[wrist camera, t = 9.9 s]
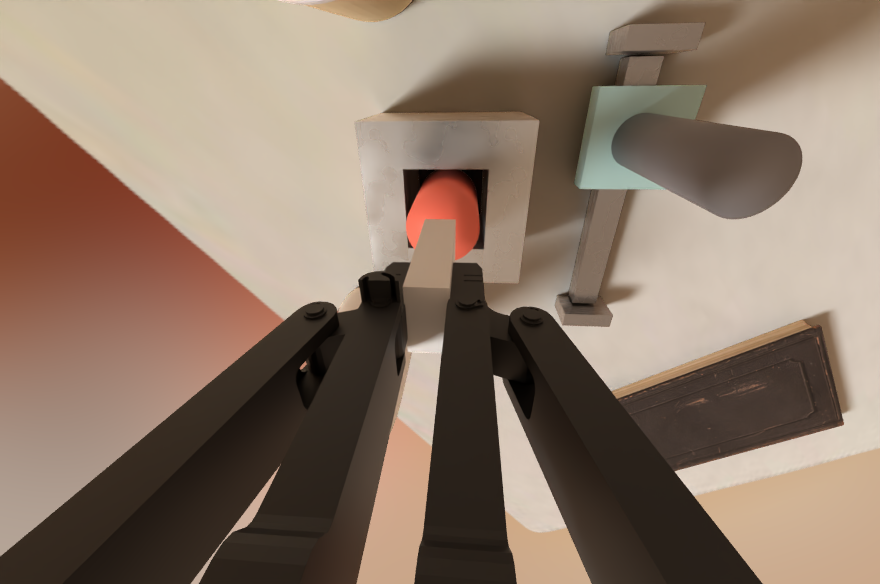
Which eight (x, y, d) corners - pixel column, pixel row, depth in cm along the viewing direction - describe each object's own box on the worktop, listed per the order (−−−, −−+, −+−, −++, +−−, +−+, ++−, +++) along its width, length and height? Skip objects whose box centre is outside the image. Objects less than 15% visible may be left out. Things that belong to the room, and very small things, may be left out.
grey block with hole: (382, 112, 24) (354, 121, 18) (521, 111, 24) (539, 120, 18) (393, 240, 30) (375, 280, 24) (508, 242, 29) (518, 283, 23)
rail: (610, 31, 21) (629, 24, 19) (676, 30, 21) (705, 22, 18) (554, 306, 32) (562, 325, 29) (598, 307, 32) (609, 326, 29)
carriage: (584, 86, 23) (699, 87, 11) (678, 85, 22) (891, 84, 11) (568, 178, 26) (645, 249, 15) (649, 178, 25) (793, 252, 14)
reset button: (418, 167, 22) (403, 191, 17) (478, 167, 22) (481, 192, 17) (420, 224, 24) (408, 261, 19) (475, 225, 24) (477, 263, 19)
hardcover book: (567, 401, 39) (572, 417, 37) (799, 311, 31) (821, 327, 29) (620, 469, 46) (626, 486, 44) (825, 410, 37) (845, 428, 35)
